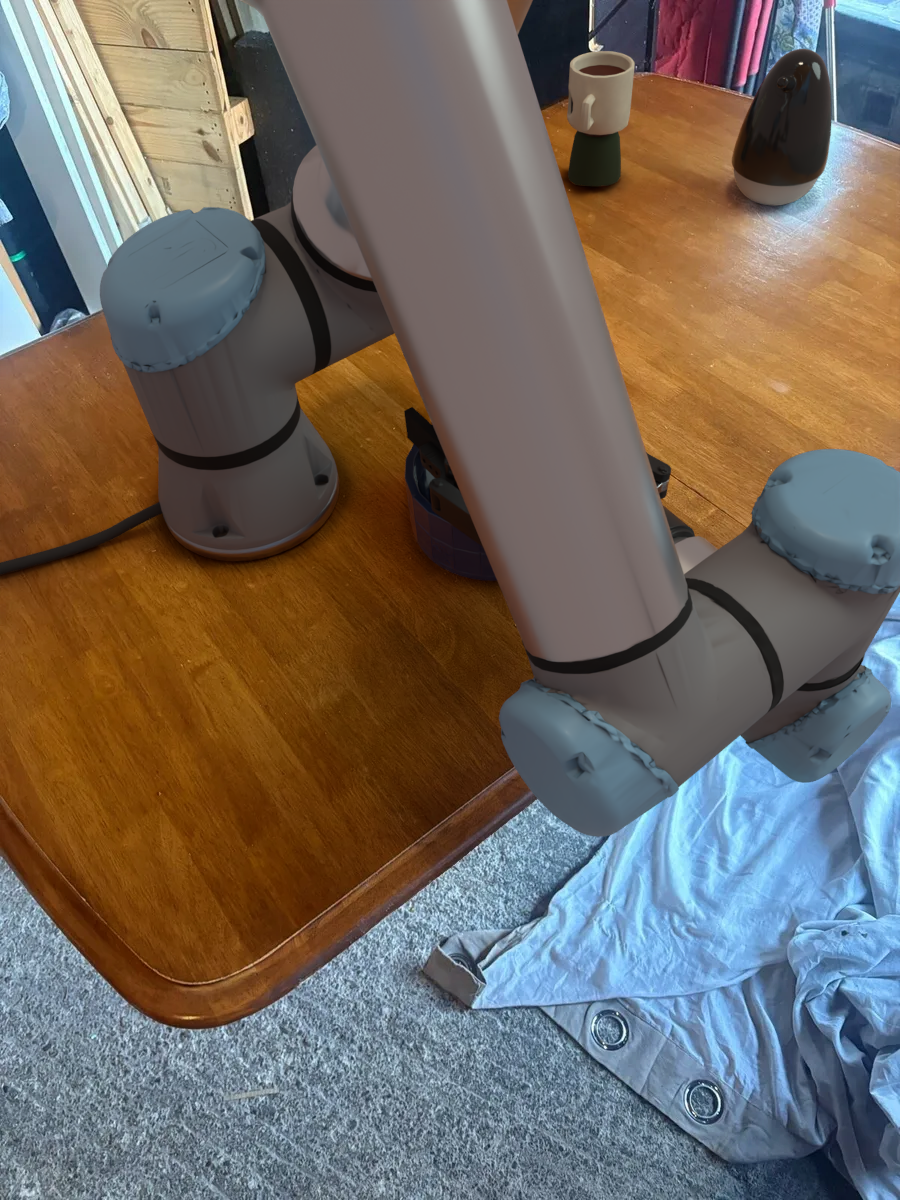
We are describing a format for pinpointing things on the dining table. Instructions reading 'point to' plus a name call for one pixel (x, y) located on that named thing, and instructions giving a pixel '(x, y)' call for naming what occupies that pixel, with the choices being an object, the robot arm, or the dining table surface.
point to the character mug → (598, 115)
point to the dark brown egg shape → (785, 131)
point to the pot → (441, 528)
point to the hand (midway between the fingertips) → (454, 399)
